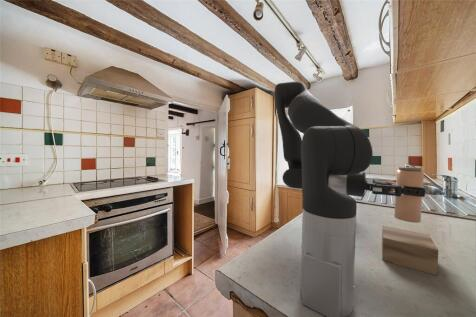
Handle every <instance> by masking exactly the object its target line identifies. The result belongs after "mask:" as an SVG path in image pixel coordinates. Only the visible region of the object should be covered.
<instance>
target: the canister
mask: <svg viewBox="0 0 476 317" xmlns="http://www.w3.org/2000/svg"><path fill="white" fill-rule="evenodd" d="M424 173H425V172H424V170H423V168H422V167H415V166H414V167H413V166H412V167H411V166H399V167H398V169H396V177H395V178H396V180H395V181H396V185H403V186H404V187H405V186H411V187H421V188H424V175H425V174H424ZM394 198H395V199H394V201H395V202H394V218H396V219H397V220H400V221H404V222H407V223H415V224H416V223H418V224H419V223H421V222H422V208H423V206H422V205H423V197H419V196H410V195H402V196H399V197H398V196H394Z"/></svg>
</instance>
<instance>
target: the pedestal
mask: <svg viewBox="0 0 476 317" xmlns="http://www.w3.org/2000/svg"><path fill="white" fill-rule="evenodd" d="M381 235H382V236H381V257H382V258H381V259H382V261H385V262H389V263H392V264H396V265H399V266H402V267H406V268H410V269H413V270H416V271H420V272H424V273H427V274H429V275H433V276H438V268H439V267H438V265H439V264H438V263H439V249H438V247H437V246H436V244H435V242H434V240H433V239H432V237H431V236H430V234H427V233H421V232H418V231H417V232H416V231H413V230H412V231H411V230H407V229H401V228H396V227H392V226H387V225H382V234H381Z"/></svg>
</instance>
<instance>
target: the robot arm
mask: <svg viewBox="0 0 476 317" xmlns="http://www.w3.org/2000/svg"><path fill="white" fill-rule="evenodd" d="M273 93H274V105H275V110H276V114H277V120H278V125H279V128H280V129H279V130H280V133H281V135H280V136H281V139H282V142H281V143H282V149H283V150H282V151H283V158H284V161H286V162H287V166H288V169H286V170H284V172H283V174H282V181H283V184H284V185H286V186H287V187H288V188H291V189H297V190H298V189H299V190H301V193H302V195H301V196H302V217H301V218H302V223H301V254H300V255H301V258H300V260H301V262H300V263H301V264H300V265H301V267H300V272H301V273H300V294H301V297H302V301H301V302H302V305H304V306H306V307H308V308H309V309H312V310H313V311H315V312H317V313H319V314H321V315H323V316H325V317H348V316H349V315H351V314H352V313H353V310H354V298H355V297H354V294H355V263H356V262H355V261H356V260H355V257H356V256H355V255H356V235H357V234H356V232H357V231H356V230H357V210H358V209H357V208H358V207H357V206H358V205H357V202H356V199H355V198H354V197H360V198H363V197H365V194H366V191H368V192H371V194H374V195H380V196H381V195H382V196H392V197H393V196H394V197H395V196H398V197H399V196H402V195H410V196H419V197H422V198H423V197H425V196H426V189H425V188H424V187H423V188H421V187H411V186H405V187H404V186H403V185H396V180H391V179H382V178H376V177H373V178H372V179H367V178H366V176H367V175H366V173H365V171H366V170H367V169H369V167H370V165H371V163H372V161H373V155H374V154H373V146H372V142H371V140H370V139H369V137H368V136H367V134H366V133H365V132H364V130H362V129H361V128H360V127H358V126H356V125H354V124H353V123H351V122H349V121H348V120H345V119H343V118H342V117H339V116H338V115H337V114H336V113H334V112H333V111H332V110H331V109H329V108H328V107H327V106H326V105H324V103H322V101H321V100H319V99H318V98H317V97H315V96H314V95H313V94H312V93H311V92H310V91H309V90H308V88H307V87H306V85H305V84H304V83H303V82H302V81H298V80H297V81H294V80H293V81H287V82H280V83H277V84H276V85H275V87H274V92H273ZM286 108H287V111H286ZM300 133H302V134H303V135H302V136H301V134H300ZM352 196H353V197H352Z"/></svg>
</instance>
